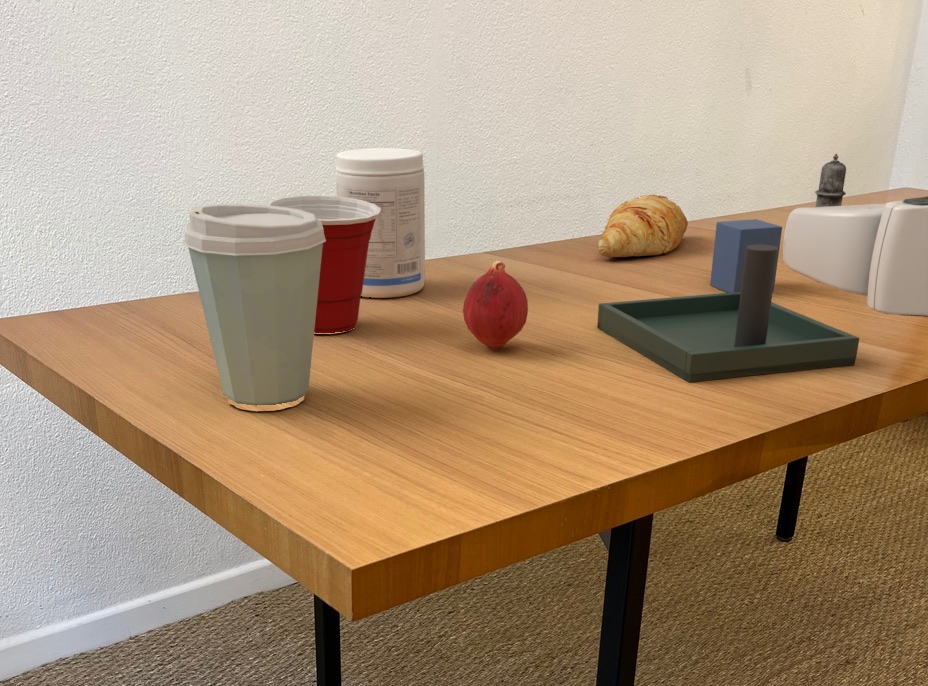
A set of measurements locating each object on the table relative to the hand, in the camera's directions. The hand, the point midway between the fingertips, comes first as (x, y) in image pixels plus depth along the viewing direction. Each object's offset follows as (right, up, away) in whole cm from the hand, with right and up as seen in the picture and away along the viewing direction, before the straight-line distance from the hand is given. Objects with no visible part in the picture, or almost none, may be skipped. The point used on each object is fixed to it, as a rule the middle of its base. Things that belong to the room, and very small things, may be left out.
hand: (863, 216), depth 75 cm
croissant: (-3, +13, +62) cm, 63 cm away
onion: (-25, -7, +21) cm, 33 cm away
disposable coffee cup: (-44, -13, +8) cm, 46 cm away
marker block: (+4, +4, +41) cm, 41 cm away
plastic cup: (-41, -3, +28) cm, 50 cm away
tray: (-4, -6, +21) cm, 22 cm away
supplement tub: (-36, +4, +42) cm, 56 cm away
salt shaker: (+19, +12, +58) cm, 62 cm away
